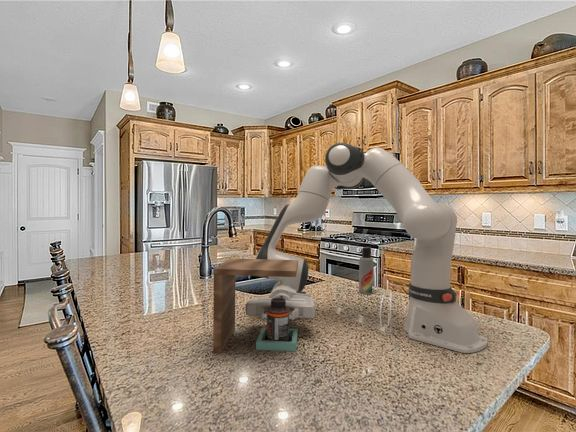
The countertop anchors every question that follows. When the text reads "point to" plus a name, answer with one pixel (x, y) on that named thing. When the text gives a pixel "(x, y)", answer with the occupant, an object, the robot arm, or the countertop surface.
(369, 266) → the lotion bottle
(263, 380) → the countertop surface
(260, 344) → the socket
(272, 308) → the supplement bottle
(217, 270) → the wooden l-shaped bracket
